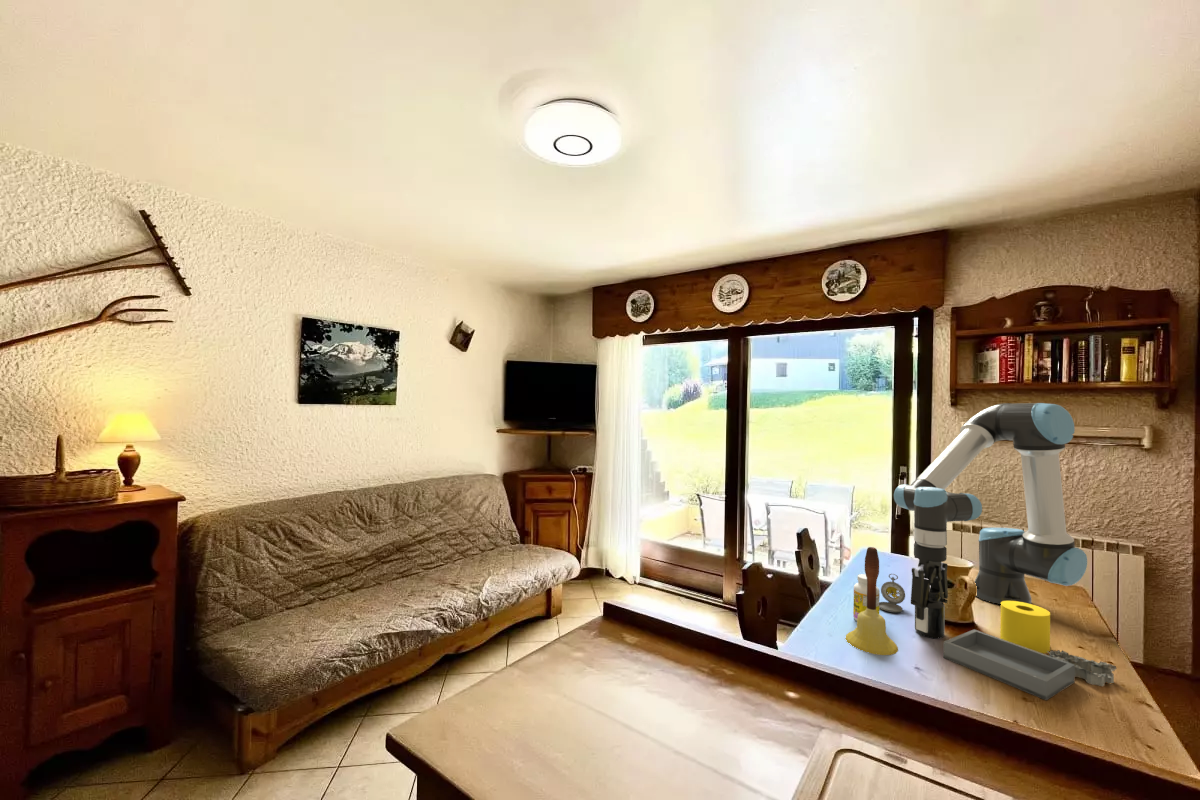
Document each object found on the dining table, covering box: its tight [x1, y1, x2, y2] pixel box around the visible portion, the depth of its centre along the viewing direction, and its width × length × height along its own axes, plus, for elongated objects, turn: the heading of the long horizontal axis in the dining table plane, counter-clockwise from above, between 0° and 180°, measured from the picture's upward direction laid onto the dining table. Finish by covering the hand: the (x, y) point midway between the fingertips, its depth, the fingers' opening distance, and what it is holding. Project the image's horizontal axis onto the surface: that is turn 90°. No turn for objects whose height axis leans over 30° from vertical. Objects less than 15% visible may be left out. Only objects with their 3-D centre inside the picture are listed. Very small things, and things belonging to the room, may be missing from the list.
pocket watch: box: [879, 573, 906, 614], centre depth 153 cm, size 8×8×10 cm
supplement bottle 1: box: [852, 573, 881, 622], centre depth 143 cm, size 7×7×13 cm
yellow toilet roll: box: [999, 601, 1051, 654], centre depth 131 cm, size 10×10×9 cm
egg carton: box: [1047, 649, 1117, 687], centre depth 117 cm, size 11×8×4 cm
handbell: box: [844, 546, 899, 656], centre depth 130 cm, size 12×12×25 cm
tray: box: [942, 628, 1076, 701], centre depth 118 cm, size 15×20×4 cm
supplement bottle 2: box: [914, 586, 946, 640], centre depth 136 cm, size 7×7×12 cm
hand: (929, 627), depth 136 cm, fingers closed on supplement bottle 2, 7 cm apart
